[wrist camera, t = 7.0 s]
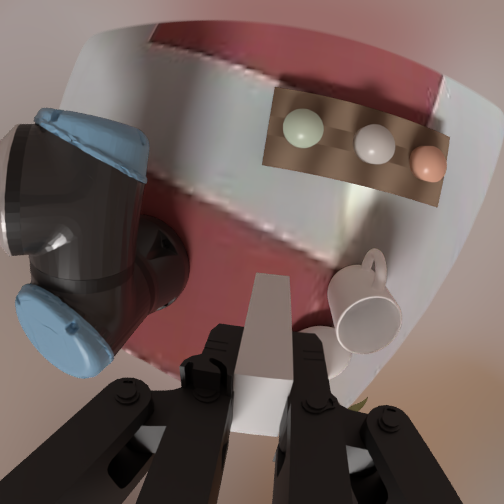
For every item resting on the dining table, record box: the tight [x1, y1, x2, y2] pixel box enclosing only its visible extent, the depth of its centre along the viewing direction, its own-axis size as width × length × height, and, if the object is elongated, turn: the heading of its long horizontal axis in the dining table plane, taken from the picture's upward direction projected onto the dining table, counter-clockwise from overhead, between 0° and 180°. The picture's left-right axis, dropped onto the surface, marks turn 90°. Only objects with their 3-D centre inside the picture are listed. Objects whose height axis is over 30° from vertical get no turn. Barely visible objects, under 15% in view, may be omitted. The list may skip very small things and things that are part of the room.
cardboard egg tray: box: [262, 87, 450, 207], centre depth 32 cm, size 24×10×3 cm, turn 81°
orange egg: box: [409, 146, 447, 182], centre depth 29 cm, size 4×4×4 cm
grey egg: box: [353, 124, 395, 164], centre depth 28 cm, size 4×4×4 cm
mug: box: [327, 248, 402, 354], centre depth 34 cm, size 12×8×10 cm
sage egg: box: [283, 109, 324, 148], centre depth 30 cm, size 4×4×4 cm
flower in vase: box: [299, 326, 368, 412], centre depth 32 cm, size 13×11×25 cm
